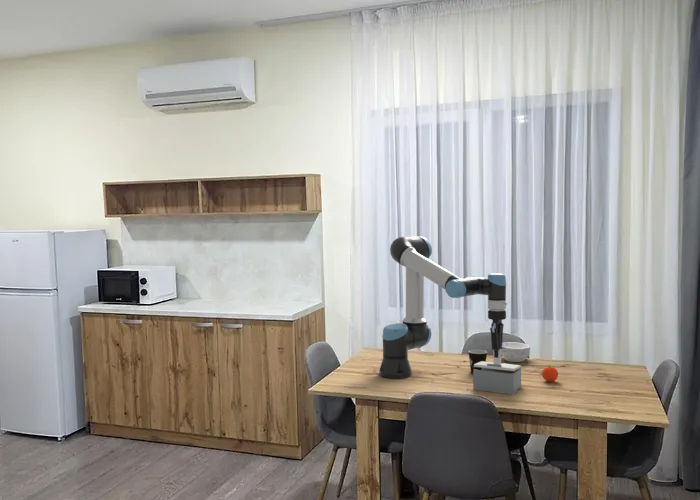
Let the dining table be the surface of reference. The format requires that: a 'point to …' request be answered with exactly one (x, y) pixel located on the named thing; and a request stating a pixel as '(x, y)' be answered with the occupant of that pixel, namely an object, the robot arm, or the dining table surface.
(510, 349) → the paper bowls
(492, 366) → the lid
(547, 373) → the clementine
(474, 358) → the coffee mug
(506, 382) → the grey box
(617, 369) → the dining table surface
